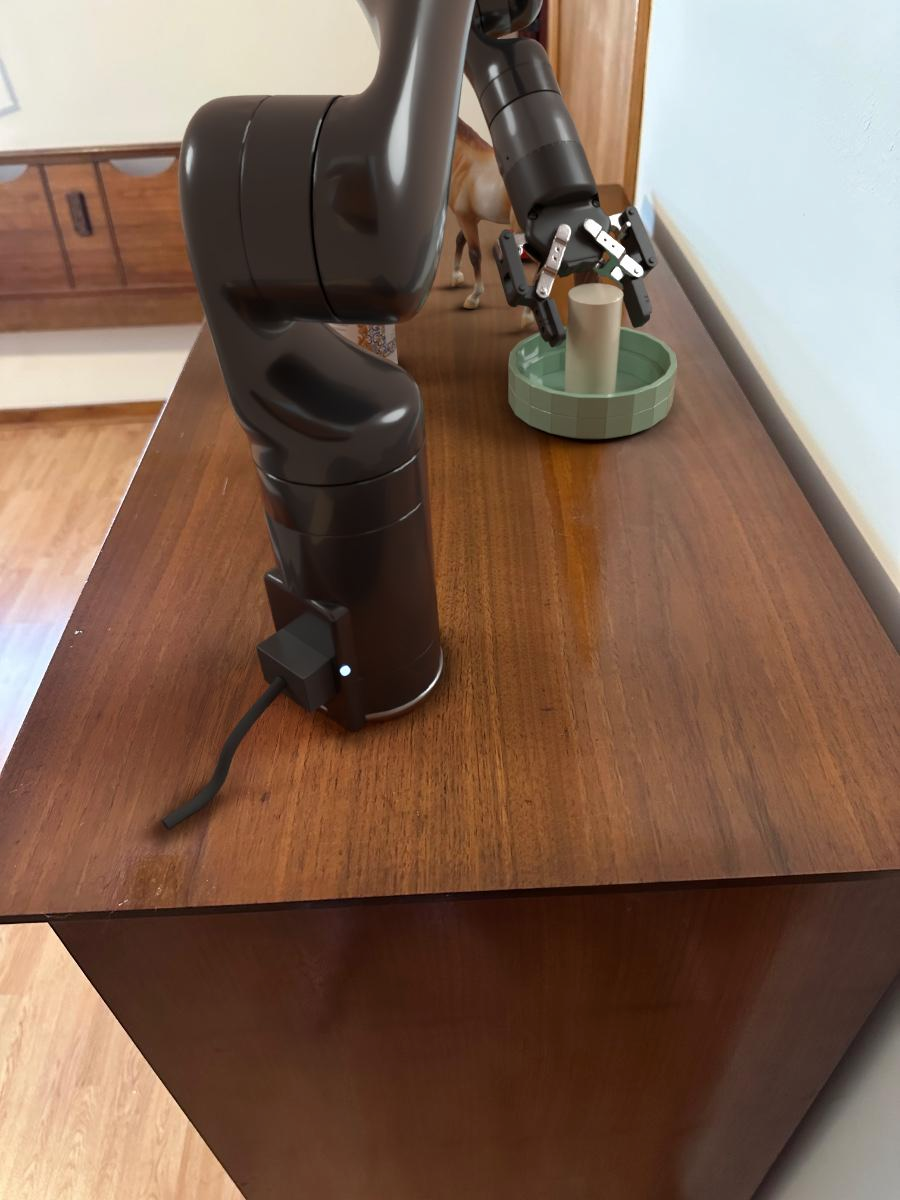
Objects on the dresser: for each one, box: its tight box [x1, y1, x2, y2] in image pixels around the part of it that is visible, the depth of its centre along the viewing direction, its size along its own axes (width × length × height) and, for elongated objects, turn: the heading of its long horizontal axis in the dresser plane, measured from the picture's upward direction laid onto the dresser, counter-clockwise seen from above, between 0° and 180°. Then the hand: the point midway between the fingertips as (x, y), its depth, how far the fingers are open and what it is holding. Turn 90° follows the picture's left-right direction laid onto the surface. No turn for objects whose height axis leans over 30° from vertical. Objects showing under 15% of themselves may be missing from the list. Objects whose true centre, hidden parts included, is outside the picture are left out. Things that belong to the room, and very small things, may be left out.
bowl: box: [507, 325, 678, 440], centre depth 83 cm, size 15×15×4 cm
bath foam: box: [328, 323, 399, 365], centre depth 85 cm, size 7×7×20 cm
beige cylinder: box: [564, 283, 624, 395], centre depth 81 cm, size 5×5×10 cm
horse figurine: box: [448, 115, 604, 331], centre depth 94 cm, size 31×8×21 cm, turn 39°
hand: (601, 333), depth 79 cm, fingers open, 8 cm apart
